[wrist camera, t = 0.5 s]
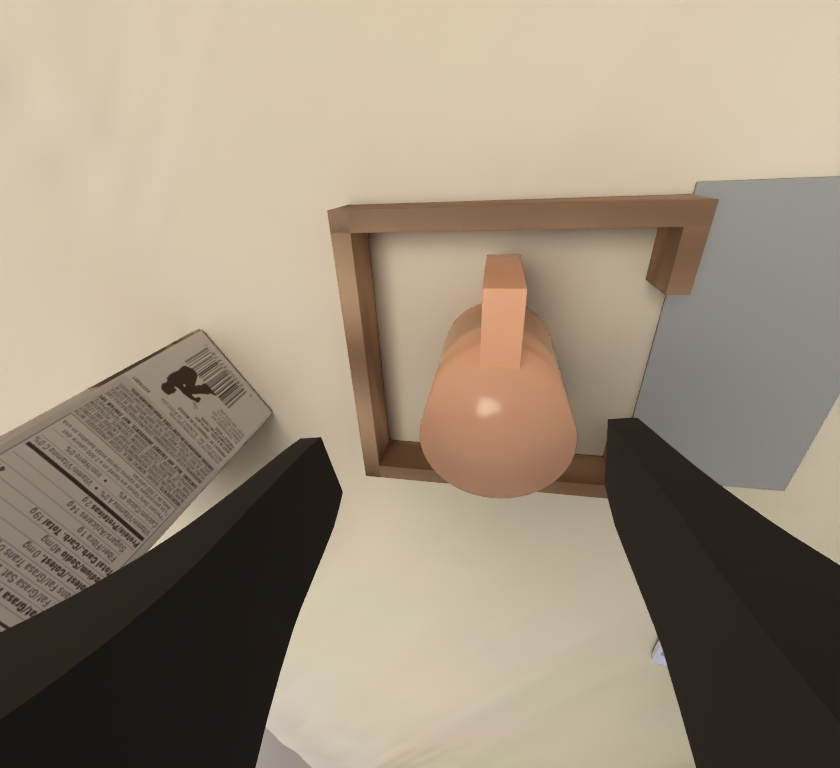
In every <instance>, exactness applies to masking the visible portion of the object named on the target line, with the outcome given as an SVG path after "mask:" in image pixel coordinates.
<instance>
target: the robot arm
mask: <svg viewBox="0 0 840 768" xmlns="http://www.w3.org/2000/svg"><path fill="white" fill-rule="evenodd" d="M605 488H606V492H607V496H608V500H609V504H610V508H611V512H612V516H613V520H614V523H615V527H616V529H617V532H618V535H619V537H620V540H621V542H622V545H623V548H624V550H625V553H626V555H627V558H628V561H629V563H630V566H631V568H632V571H633V573H634V576H635V578H636V581H637V583H638V586H639V589H640V591H641V594H642V596H643V599H644V601H645V604H646V606H647V609H648V611H649V614H650V617H651V619H652V622H653V624H654V627H655V630H656V633H657V635H658V638H659V640H658V642H657V644H656V647H655V649H654V651H653V653H652V655H651V657H652V660H653V662H654V663H655V664H657V665H662V666H667V667H668V670H669V673H670V677H671V680H672V684H673V687H674V690H675V694H676V697H677V701H678V704H679V708H680V711H681V715H682V718H683V722H684V726H685V729H686V733H687V736H688V740H689V743H690V747H691V751H692V754H693V758H694V761H695V765H696V768H840V565H838V564H837V563H835V562H834V561H832V560H830V559H829V558H827V557H826V556H824V555H822V554H821V553H819V552H818V551H816V550H814V549H813V548H811V547H810V546H808V545H806V544H805V543H803V542H802V541H800V540H798V539H797V538H795V537H794V536H792V535H791V534H789V533H788V532H786V531H785V530H783V529H782V528H780V527H778V526H777V525H775V524H774V523H773V522H771V521H770V520H768V519H767V518H765V517H764V516H762V515H761V514H760V513H758V512H757V511H755V510H754V509H753V508H751V507H750V506H748V505H747V504H745V503H744V502H743V501H741V500H740V499H738V498H737V497H735V496H734V495H733V494H731V493H730V492H729V491H727V490H726V489H725V488H723V487H722V486H721V485H719V484H718V483H717V482H716V481H714V480H713V479H712V478H710V477H709V476H708V475H707V474H705V473H704V472H703V471H701V470H700V469H699V468H698V467H696V466H695V465H694V464H693V463H691V462H690V461H689V460H688V459H686V458H685V457H684V456H683V455H682V454H680V453H679V452H678V451H677V450H676V449H674V448H673V447H672V446H671V445H670V444H668V443H667V442H666V441H665V440H664V439H662V438H661V437H660V436H659V435H658V434H657V433H655V432H654V431H653V430H652V429H651V428H649V427H648V426H647V425H646V424H645V423H643V422H642V421H641V420H640V419H639V418H623V419H608V431H607V450H606V469H605ZM342 493H343V491H342V489H341V486H340V484H339V481H338V479H337V476H336V474H335V471H334V469H333V466H332V464H331V461H330V459H329V456H328V454H327V451H326V449H325V446H324V444H323V441H322V439H321V437H318V438H302V439H299V440H298V441H297V442H295V443H294V444H292V445H291V446H290V447H288V448H287V449H286V450H284V451H283V452H282V453H280V454H279V455H278V456H277V457H275V458H274V459H273V460H272V461H270V462H269V463H268V464H267V465H265V466H264V467H263V468H262V469H260V470H259V471H258V472H257V473H255V474H254V475H253V476H252V477H251V478H249V479H248V480H247V481H246V482H244V483H243V484H242V485H241V486H239V487H238V488H237V489H236V490H234V491H233V492H232V493H230V494H229V495H228V496H226V497H225V498H224V499H222V500H221V501H220V502H218V503H217V504H216V505H214V506H213V507H212V508H210V509H209V510H208V511H206V512H205V513H204V514H202V515H201V516H200V517H198V518H197V519H196V520H194V521H193V522H192V523H190V524H189V525H187V526H186V527H185V528H183V529H182V530H180V531H179V532H177V533H176V534H174V535H173V536H171V537H170V538H168V539H167V540H165V541H164V542H162V543H161V544H159V545H158V546H156V547H155V548H153V549H152V550H150V551H148V552H147V553H145V554H144V555H142V556H141V557H139V558H137V559H136V560H134V561H132V562H130V563H129V564H127V565H125V566H124V567H122V568H120V569H118V570H117V571H115V572H113V573H112V574H110V575H108V576H107V577H105V578H103V579H101V580H100V581H98V582H96V583H95V584H93V585H91V586H89V587H88V588H86V589H84V590H82V591H80V592H78V593H77V594H75V595H73V596H71V597H69V598H67V599H65V600H63V601H62V602H60V603H58V604H56V605H54V606H52V607H50V608H48V609H46V610H44V611H42V612H40V613H38V614H36V615H34V616H32V617H30V618H28V619H26V620H25V621H22V622H20V623H18V624H16V625H14V626H12V627H10V628H8V629H6V630H4V631H2V632H0V768H255V767H256V763H257V759H258V754H259V751H260V746H261V742H262V738H263V734H264V730H265V726H266V722H267V718H268V714H269V711H270V707H271V704H272V700H273V696H274V693H275V689H276V685H277V682H278V678H279V675H280V671H281V668H282V664H283V661H284V658H285V655H286V651H287V648H288V645H289V641H290V638H291V635H292V632H293V628H294V626H295V623H296V620H297V617H298V615H299V612H300V609H301V607H302V604H303V602H304V599H305V597H306V595H307V592H308V590H309V587H310V585H311V582H312V580H313V577H314V575H315V573H316V570H317V568H318V565H319V563H320V560H321V558H322V556H323V553H324V551H325V548H326V546H327V543H328V541H329V538H330V536H331V533H332V530H333V528H334V524H335V521H336V517H337V514H338V510H339V506H340V501H341V497H342Z"/></svg>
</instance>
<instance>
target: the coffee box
mask: <svg viewBox="0 0 840 768" xmlns="http://www.w3.org/2000/svg"><path fill="white" fill-rule="evenodd" d="M271 414H272V412H271V410H270V409H269V408H268V407H267V405H266V404H265V403H264V402H263V401H262V400H261V399H260V397H259V396H258V395H257V394H256V393H255V392H254V390H253V389H252V388H251V387H250V386H249V385H248V383H247V382H246V381H245V380H244V379H243V377H242V376H241V375H240V374H239V373H238V372H237V371H236V369H235V368H234V367H233V366H232V365H231V364H230V362H229V361H228V360H227V359H226V358H225V357H224V355H223V354H222V353H221V352H220V351H219V350H218V348H217V347H216V346H215V345H214V344H213V343H212V341H211V340H210V339H209V338H208V337H207V336H206V334H205V333H204V332H203V331H201V330H195V331H193V332H191V333H190V334H188V335H186V336H184V337H182V338H180V339H179V340H177V341H175V342H173V343H171V344H170V345H168V346H166V347H164V348H162V349H160V350H159V351H157V352H155V353H153V354H151V355H150V356H148V357H146V358H144V359H142V360H140V361H138V362H136V363H135V364H133V365H131V366H129V367H127V368H125V369H123V370H122V371H120V372H118V373H116V374H114V375H112V376H111V377H109V378H107V379H105V380H103V381H101V382H100V383H98V384H96V385H94V386H92V387H90V388H88V389H87V390H85V391H83V392H81V393H79V394H77V395H75V396H74V397H72V398H70V399H68V400H66V401H64V402H63V403H61V404H59V405H57V406H55V407H54V408H52V409H50V410H48V411H46V412H44V413H43V414H41V415H39V416H37V417H35V418H34V419H32V420H30V421H28V422H26V423H24V424H22V425H21V426H19V427H17V428H15V429H13V430H11V431H9V432H7V433H6V434H4V435H2V436H0V632H2V631H4V630H6V629H8V628H10V627H12V626H14V625H16V624H18V623H20V622H22V621H25V620H26V619H28V618H30V617H32V616H34V615H36V614H38V613H40V612H42V611H44V610H46V609H48V608H50V607H52V606H54V605H56V604H58V603H60V602H62V601H63V600H65V599H67V598H69V597H71V596H73V595H75V594H77V593H78V592H80V591H82V590H84V589H86V588H88V587H89V586H91V585H93V584H95V583H96V582H98V581H100V580H101V579H103V578H105V577H107V576H108V575H110V574H112V573H113V572H115V571H117V570H118V569H120V568H122V567H124V566H125V565H127V564H129V563H130V562H132V561H134V560H136V559H137V558H139V557H141V556H142V555H144V554H145V553H147V551H148V550H149V549H150V548H151V547H152V546H153V545H154V544H155V543H156V541H157V540H158V539H159V538H160V537H161V536H162V535H163V534H164V533H165V532H166V530H167V529H168V528H169V527H170V526H171V525H172V524H173V523H174V522H175V521H176V519H177V518H178V517H179V516H180V515H181V514H182V513H183V512H184V511H185V510H186V508H187V507H188V506H189V505H190V504H191V503H192V502H193V501H194V500H195V498H196V497H197V496H198V495H199V494H200V493H201V492H202V491H203V490H204V489H205V487H206V486H207V485H208V484H209V483H210V482H211V481H212V480H213V479H214V478H215V476H216V475H217V474H218V473H219V472H220V471H221V470H222V469H223V468H224V467H225V466H226V464H227V463H228V462H229V461H230V460H231V459H232V458H233V457H234V456H235V455H236V453H237V452H238V451H239V450H240V449H241V448H242V447H243V446H244V445H245V444H246V442H247V441H248V440H249V439H250V438H251V437H252V436H253V435H254V433H255V432H256V431H257V430H258V429H259V428H260V427H261V425H262V424H263V423H264V422H265V421H266V420H267V419H268V418H269V417H270V415H271Z"/></svg>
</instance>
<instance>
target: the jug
mask: <svg viewBox="0 0 840 768" xmlns="http://www.w3.org/2000/svg"><path fill="white" fill-rule="evenodd" d="M526 297H527V285H526V281H525V276H524V271H523V266H522V262H521V257H520V255H487V260H486V267H485V275H484V282H483V292H482V304H479V305H477V306H474V307H472V308H470V309H469V310H467V311H465V312H464V313H463V314H462V315H461V316H460V317H459V318H458V319H457V320H456V321H455V322H454V324H453V325H452V326H451V328H450V330H449V332H448V335H447V338H446V341H445V344H444V348H443V351H442V354H441V358H440V361H439V364H438V368H437V371H436V374H435V377H434V381H433V384H432V387H431V391H430V394H429V397H428V401H427V404H426V407H425V411H424V414H423V417H422V420H421V426H420V442H421V447H422V450H423V453H424V455H425V457H426V459H427V461H428V462H429V464H430V466H431V467H432V468H433V469H434V470H435V472H436V473H437V474H439V475H440V476H441V477H442V478H443V479H444V480H446V481H447V482H448V483H450V484H452V485H453V486H455V487H457V488H459V489H461V490H463V491H465V492H468V493H471V494H474V495H478V496H483V497H489V498H513V497H520V496H524V495H528V494H531V493H534V492H537V491H539V490H541V489H543V488H545V487H547V486H548V485H550V484H551V483H553V482H554V481H555V480H557V479H558V478H559V477H560V476H561V475H562V474H563V473H564V472H565V471H566V469H567V468H568V466H569V465H570V463H571V461H572V459H573V457H574V454H575V450H576V444H577V432H576V427H575V423H574V420H573V416H572V413H571V409H570V406H569V402H568V398H567V395H566V391H565V388H564V384H563V381H562V377H561V374H560V370H559V367H558V363H557V360H556V356H555V353H554V349H553V346H552V342H551V338H550V335H549V332H548V330H547V328H546V326H545V325H544V323H543V322H542V320H541V319H540V318H539V317H538V316H537V315H536V314H535V313H534V312H532V311H531V310H529V309H528V308H526Z"/></svg>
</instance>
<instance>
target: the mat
mask: <svg viewBox="0 0 840 768" xmlns="http://www.w3.org/2000/svg"><path fill="white" fill-rule="evenodd" d="M693 195H698V196H703V197H709V198H715V199H719V202H718V205H717V208H716V211H715V215H714V218H713V221H712V225H711V228H710V231H709V235H708V238H707V241H706V244H705V248H704V251H703V254H702V258H701V261H700V264H699V268H698V271H697V274H696V277H695V281H694V284H693V287H692V291H691V294H690V295H666V296H665V300H664V304H663V307H662V311H661V315H660V318H659V322H658V326H657V329H656V333H655V337H654V340H653V344H652V348H651V351H650V355H649V359H648V362H647V366H646V370H645V373H644V377H643V381H642V385H641V388H640V392H639V396H638V399H637V403H636V407H635V410H634V414H633V418H639V419H640V420H641V421H642V422H643V423H645V424H646V425H647V426H648V427H649V428H651V429H652V430H653V431H654V432H655V433H657V434H658V435H659V436H660V437H661V438H662V439H664V440H665V441H666V442H667V443H668V444H670V445H671V446H672V447H673V448H674V449H676V450H677V451H678V452H679V453H680V454H682V455H683V456H684V457H685V458H686V459H688V460H689V461H690V462H691V463H693V464H694V465H695V466H696V467H698V468H699V469H700V470H701V471H703V472H704V473H705V474H707V475H708V476H709V477H710V478H712V479H713V480H714V481H716V482H717V483H718V484H719V485H721V486H733V487H745V488H756V489H768V490H780V491H785V489H786V488H787V486H788V484H789V482H790V480H791V479H792V477H793V475H794V473H795V472H796V470H797V468H798V466H799V465H800V463H801V461H802V459H803V457H804V456H805V454H806V452H807V450H808V449H809V447H810V445H811V443H812V442H813V440H814V438H815V436H816V435H817V433H818V431H819V429H820V427H821V426H822V424H823V422H824V420H825V419H826V417H827V415H828V413H829V412H830V410H831V408H832V406H833V404H834V403H835V401H836V399H837V397H838V396H839V394H840V177H814V178H786V179H759V180H732V181H705V182H696V186H695V190H694V193H693Z"/></svg>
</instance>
